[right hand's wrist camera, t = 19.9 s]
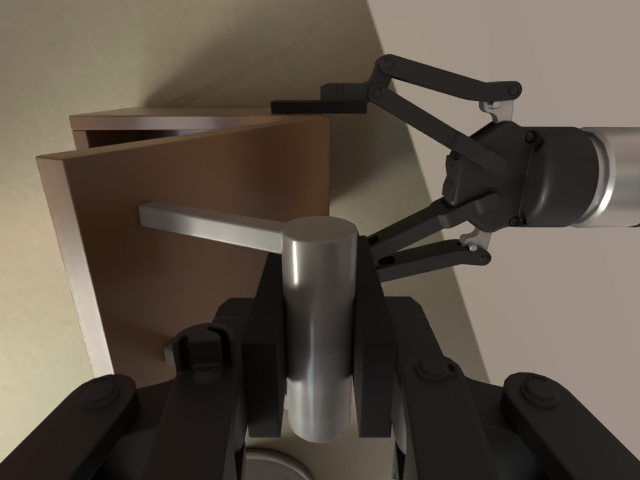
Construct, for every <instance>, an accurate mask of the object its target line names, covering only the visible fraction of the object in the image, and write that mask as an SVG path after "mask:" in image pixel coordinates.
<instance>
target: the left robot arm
mask: <svg viewBox="0 0 640 480" xmlns="http://www.w3.org/2000/svg"><path fill="white" fill-rule="evenodd" d="M391 78H394V79H397V80H401V81H404V82H408V83H411V84H414V85H418V86H421V87H425V88H428V89H431V90H435V91H438V92H441V93H445V94H448V95H452V96H455V97H458V98H462V99H466V100H473V101H479V108H480V110H481V111H483V112H487V113H489V114H491V116H492V118H493V121H492V122H490V123H489V124H487V125H486V126H484V127H483V128H481V129H480V130H478V131H477V132H475V133H474V134H472V135H471V136H469V137H468V136H466V135H464V134H463V133H461V132H459V131H457V130H455V129H454V128H452V127H450V126H449V125H447V124H445V123H444V122H442V121H440V120H439V119H437V118H435V117H434V116H432V115H430V114H429V113H427V112H426V111H424V110H422V109H421V108H419V107H417V106H416V105H414V104H412V103H411V102H409V101H407V100H406V99H404V98H403V97H401V96H399V95H398V94H396V93H394V92H393V91H391V90H389V89H388V85H389V83H390V80H391ZM521 92H522V86H521V84H520V83H519V82H516V81H498V82H487V83H485V82H482V81H478V80H475V79H472V78H469V77H465V76H462V75H458V74H455V73H452V72H449V71H445V70H442V69H439V68H435V67H432V66H429V65H425V64H422V63H419V62H415V61H412V60H409V59H405V58H402V57H399V56H395V55H392V54H387V55H384V56H382V57H380V58H378V59H377V60H376V62H375V67H374V69H373V72H372V74H371V77H370V78H369V80H368V81H366V82H365V83H361V84H348V83H328V84H325V85H323V86H321V100H274V101H271V113H331V114H366V111H367V102H372V103H374V104H375V105H377V106H379V107H380V108H382V109H384V110H386V111H387V112H389V113H391V114H392V115H394V116H396V117H397V118H399V119H401V120H402V121H404V122H406V123H407V124H409V125H411V126H412V127H414V128H416V129H417V130H419V131H421V132H423V133H424V134H426V135H428V136H429V137H431V138H433V139H434V140H436V141H438V142H439V143H441V144H442V145H444V146H446V147H447V148H449V149H451V150H452V151H451V152H450V155H447V157H446V172H447V176H446V179H445V181H444V184H443V190H442V195H443V196H444V197H442V198H440V199H438V200H436V201H434V202H432V203H431V205H430V206H429V207H427V208H425V209H423V210H421V211H419V212H417V213H415V214H413V215H411V216H409V217H407V218H405V219H403V220H401V221H399V222H397V223H395V224H392V225H390V226H388V227H386V228H384V229H382V230H380V231H378V232H376V233H374V234H372V235H370V236H368V237H366V238H367V241H368V244H369V247H370V251H371V254H372V257H373V261H374V264H375V267H376V270H377V274H378V277H379V280H380V283H381V282H386V281H390V280H394V279H399V278H403V277H407V276H412V275H416V274H420V273H424V272H429V271H433V270H437V269H442V268H446V267H450V266H455V265H459V264H468V265H480V266H483V265H487V264H488V263H489V262H490V261H491V255H490V254H489V253H488V252H487V248H488V245H489V241H490V237H491V234H492V232H495V231H497V230H499V229H502V228H505V227H566V226H571V227H576V228H581V227H640V127H583V128H580V129H579V128H576V127H521V126H519V125H517V124H516V123H514V122H512V113H513V102H514V99H516V98H518V97H519V96H520V94H521ZM465 221H468V222H470V223H471V224H472V225H474V226H475V230H474V231H473V232H472V233H469V234H463V235H461V236H460V239H452V240H445V241H441V242H436V243H432V244H428V245H424V246H420V247H416V248H411V249H407V250H403V251H399V252H396V251H398V250H400V249H402V248H404V247H406V246H408V245H410V244H412V243H414V242H417V241H419V240H421V239H423V238H425V237H427V236H429V235H431V234H433V233H435V232H437V231H439V230H442V229H444V228H452V227H454V226H456V225H459V224H461V223H463V222H465ZM357 231H358V230H357ZM357 236H359V234H357ZM394 252H395V253H394ZM244 480H313V478H312V476H311V474H310V473H309V471H308V470H307V469H306V468H305V467H304V466H303V465H302V464H301V463H299V462H298V461H296V460H295V459H293V458H291V457H289V456H287V455H285V454H282V453H279V452H276V451H272V450H266V449H246V464H245V475H244Z"/></svg>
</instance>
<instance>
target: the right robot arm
mask: <svg viewBox="0 0 640 480" xmlns="http://www.w3.org/2000/svg"><path fill="white" fill-rule="evenodd" d="M171 343H172V349H173V355H174V361H175V367H176V373H177V374H176V377H175V378H173V379H171V380H169V381H166V382H163V383H159V384H155V385H151V386H146V387H142V388H138V389H137V388H136V383H135V381H134V380H133V379H132V378H131V377H130V376H126V375H123V374H108V375H104V376H100V377H97V378H94V379H92V380H90V381H88V382H86V383H84V384H82V385H81V386H79V387H78V388H77V389H75V390H74V391H73V392H72V393H70V394H69V395H68V396H67V397H66V398H65V399H64V400H63V401H62V402H61V403H60V404H59V405H58V406H57V407H56V408H55V409H54V410H53V411H52V412H51V413H50V414H49V415H48V416H47V417H46V418H45V419H44V420H43V421H42V422H41V423H40V424H39V425H38V426H37V427H36V428H35V429H34V430H33V431H32V432H31V433H30V434H29V435H28V436H27V437H26V438H25V439H24V440H23V441H22V442H21V443H20V444H19V445H18V446H17V447H16V448H15V449H14V450H13V451H12V452H11V453H10V454H9V455H8V456H7V457H6V458H5V459H4V460H3V461H2V462H1V463H0V480H244V475H245V464H246V449H245V434H246V430H247V425H248V431H249V437H280V436H281V427H282V418H283V409H284V400H285V391H286V382H287V362H286V336H285V310H284V294H283V278H282V254H277V253H273V252H269V253H268V256H267V259H266V263H265V266H264V269H263V273H262V276H261V279H260V282H259V286H258V289H257V292H256V295H255V298H229V299H228V300H227V301H225V302H224V303H223V304H222V305H221V306H219V308H218V310H217V312H216V315H215V317H214V319H213V321H212V323H202V324H196V325H194V326H191V327H189V328H186V329H184V330H183V331H181V332H180V333H178V334H177V335H176V336H175V338H174V339H173V340H172V342H171ZM352 376H353V385H354V394H355V403H356V412H357V421H358V430H359V437H391V427H392V425H393V430H394V434H395V449H394V459H393V469H392V479H396V480H640V461H639V460H638V459H637V458H636V457H635V456H634V455H633V454H632V453H631V452H630V451H629V450H628V449H627V448H626V447H625V446H624V445H623V444H622V443H621V442H620V441H619V440H618V439H617V438H616V437H615V436H614V435H613V434H612V433H611V432H610V431H609V430H608V429H607V428H606V427H605V426H604V425H603V424H602V423H601V422H600V421H599V420H598V419H597V418H596V417H594V416H593V414H592V413H591V412H590V411H588V410H587V409H586V408H585V407H584V406H583V405H582V404H581V403H580V402H579V401H578V400H577V399H576V398H575V397H574V396H573V395H572V394H571V393H570V392H569V391H568V390H567V389H566V388H564V387H563V386H562V385H560V384H559V383H558V382H556V381H554V380H552V379H549V378H547V377H545V376H542V375H538V374H534V373H525V372H519V373H515V374H512V375H510V376H509V377H508V378H507V379H506V380H505V381H504V386H503V387H500V386H496V385H491V384H487V383H483V382H479V381H476V380H472V379H470V378H467V377H465V376H464V373H463V371H462V370H461V368H460V367H459V365H458V364H456V363H455V362H454V361H452V360H451V359H450V358H447V357H445V356H444V355H443V353H442V351H441V349H440V347H439V344H438V342H437V340H436V338H435V336H434V333H433V331H432V329H431V327H430V326H429V322H428V320H427V318H425V314H424V312H423V309H422V307H421V305H420V304H418V303H417V302H416V301H415V300H413V299H412V298H411V297H384V293H383V290H382V287H381V284H380V280H379V277H378V274H377V270H376V267H375V264H374V261H373V257H372V254H371V251H370V247H369V244H368V241H367V238H366V236H357V260H356V286H355V311H354V337H353V363H352Z"/></svg>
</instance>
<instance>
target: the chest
mask: <svg viewBox="0 0 640 480" xmlns="http://www.w3.org/2000/svg"><path fill="white" fill-rule="evenodd" d="M308 116H321V115H320V113H271V107H134V108H126V109H118V110H110V111H102V112H94V113H86V114H79V115H71V116H69V119H70V123H71V128H72V130H73V136H74V141H75V145H76V149H77V150H81V149H88V148H95V147H102V146H109V145H116V144H122V143H129V142H136V141H143V140H150V139H157V138H164V137H171V136H178V135H184V134H191V133H198V132H205V131H212V130H219V129H226V128H233V127H239V126H246V125H253V124H260V123H267V122H274V121H281V120H288V119H295V118H301V117H308Z"/></svg>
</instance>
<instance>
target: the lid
mask: <svg viewBox="0 0 640 480" xmlns="http://www.w3.org/2000/svg"><path fill="white" fill-rule="evenodd" d="M36 162H37V165H38V169H39V173H40V177H41V180H42V184H43V188H44V192H45V195H46V199H47V203H48V207H49V210H50V214H51V218H52V222H53V225H54V229H55V233H56V236H57V240H58V244H59V248H60V251H61V255H62V259H63V263H64V266H65V270H66V274H67V278H68V281H69V285H70V289H71V293H72V296H73V300H74V304H75V308H76V311H77V315H78V319H79V322H80V326H81V330H82V334H83V337H84V341H85V345H86V349H87V352H88V356H89V360H90V364H91V367H92V371H93V375H94V378H97V377H100V376H104V375H108V374H123V375H126V376H130V377H131V378H132V379H133V380H134V381H135V383H136V388H137V389H138V388H142V387H146V386H151V385H155V384H159V383H163V382H166V381H169V380H171V379H173V378H175V377H176V374H177V373H176V367H175V361H174V355H173V349H172V343H171V342H172V340H173V339H174V338H175V336H176V335H177V334H178V333H180V332H181V331H183V330H184V329H186V328H189V327H191V326H194V325H196V324H202V323H212V321H213V319H214V317H215V315H216V312H217V310H218V308H219V306H221V305H222V304H223V303H224V302H225V301H227V300H228V299H229V298H255V295H256V292H257V289H258V286H259V282H260V279H261V276H262V273H263V269H264V266H265V263H266V259H267V256H268V253H269V252H273V253H277V254H282V278H283V294H284V310H285V336H286V362H287V382H286V391H285V400H284V409H285V410H287V411H288V422H289V425H290V427H291V429H292V430H293V432H294V433H295V434H296V435H297V436H299V437H300V438H302V439H304V440H306V441H309V442H314V443H324V442H329V441H332V440H335V439H337V438H338V437H340V436H341V435H342V434H343V433H344V432H345V431H346V429H347V428H348V426H349V423H350V416H351V390H352V363H353V337H354V311H355V286H356V260H357V234H358V231H357V228H356V226H355V225H354V224H353V223H352V222H350V221H347V220H345V219H341V218H337V217H330V216H329V183H330V116H308V117H301V118H295V119H288V120H281V121H274V122H267V123H260V124H253V125H246V126H239V127H233V128H226V129H219V130H212V131H205V132H198V133H191V134H184V135H178V136H171V137H164V138H157V139H150V140H143V141H136V142H129V143H122V144H116V145H109V146H102V147H95V148H88V149H81V150H74V151H67V152H61V153H54V154H47V155H40V156H36Z"/></svg>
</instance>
